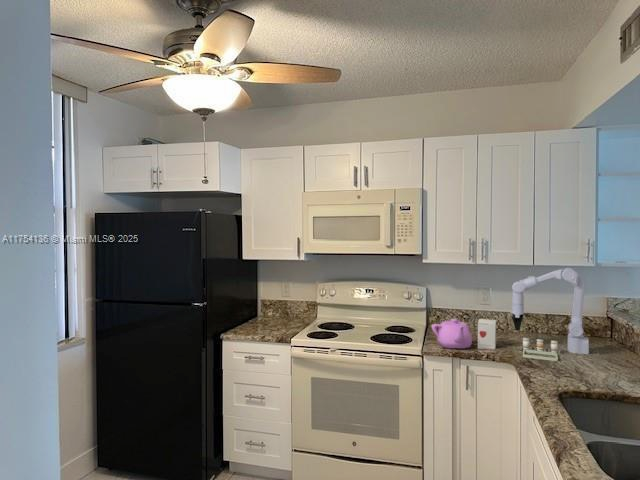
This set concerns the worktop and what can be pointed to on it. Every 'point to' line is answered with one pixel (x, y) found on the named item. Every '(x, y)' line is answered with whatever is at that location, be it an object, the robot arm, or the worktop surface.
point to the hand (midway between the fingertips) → (517, 328)
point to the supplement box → (486, 334)
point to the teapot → (453, 334)
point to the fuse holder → (543, 350)
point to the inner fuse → (554, 346)
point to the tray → (540, 356)
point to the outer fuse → (526, 343)
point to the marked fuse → (539, 345)
